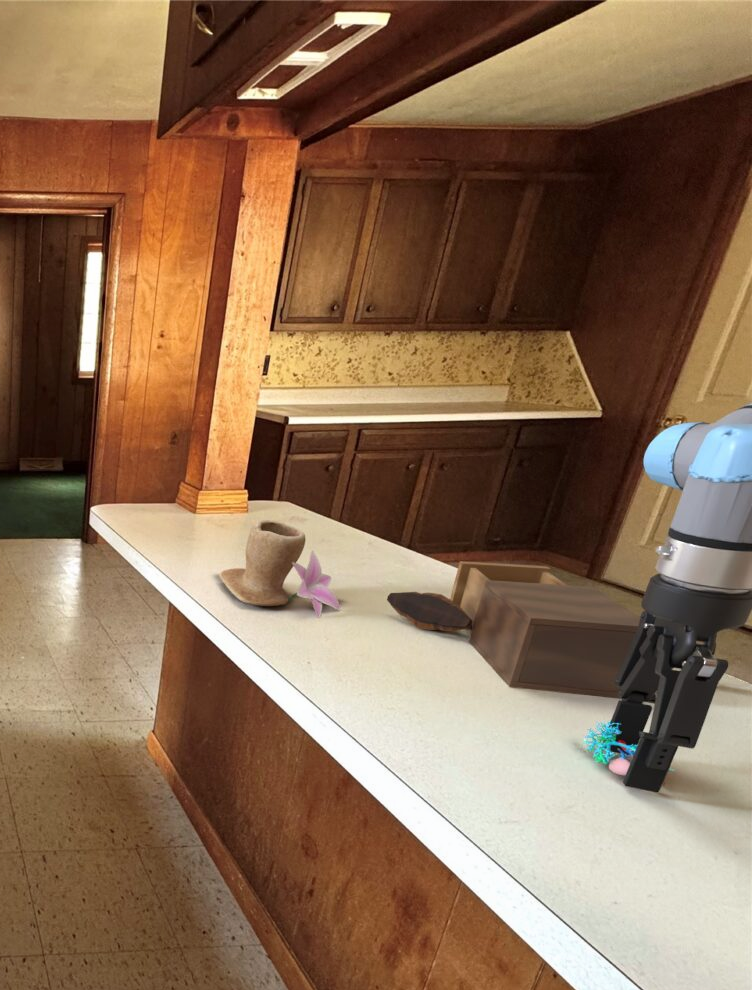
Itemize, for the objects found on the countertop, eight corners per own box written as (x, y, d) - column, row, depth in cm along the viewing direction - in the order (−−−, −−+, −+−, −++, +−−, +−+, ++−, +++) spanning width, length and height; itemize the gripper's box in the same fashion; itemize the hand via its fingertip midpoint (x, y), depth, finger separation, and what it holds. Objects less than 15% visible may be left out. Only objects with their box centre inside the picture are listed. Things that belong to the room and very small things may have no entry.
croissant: (396, 577, 117) (407, 586, 120) (375, 610, 118) (386, 619, 121) (481, 603, 106) (490, 613, 109) (457, 640, 107) (467, 649, 110)
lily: (280, 624, 120) (316, 587, 114) (254, 580, 128) (286, 543, 122) (331, 635, 123) (369, 600, 117) (303, 592, 132) (336, 556, 125)
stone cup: (304, 611, 122) (317, 533, 117) (237, 610, 124) (247, 533, 118) (277, 583, 136) (287, 512, 131) (217, 582, 138) (225, 512, 132)
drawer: (436, 596, 124) (448, 551, 121) (517, 602, 120) (531, 556, 117) (478, 641, 106) (493, 589, 103) (575, 649, 102) (593, 596, 99)
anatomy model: (711, 760, 70) (670, 720, 75) (618, 752, 72) (584, 713, 78) (690, 796, 72) (651, 754, 78) (600, 787, 74) (569, 747, 80)
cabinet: (468, 641, 109) (485, 579, 105) (571, 650, 104) (593, 586, 100) (509, 686, 95) (530, 617, 91) (630, 699, 90) (658, 627, 87)
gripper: (621, 550, 77) (562, 719, 85) (695, 610, 61) (613, 811, 69) (711, 557, 74) (640, 732, 82) (815, 622, 58) (713, 832, 66)
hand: (628, 768), depth 76 cm, fingers closed on anatomy model, 7 cm apart
